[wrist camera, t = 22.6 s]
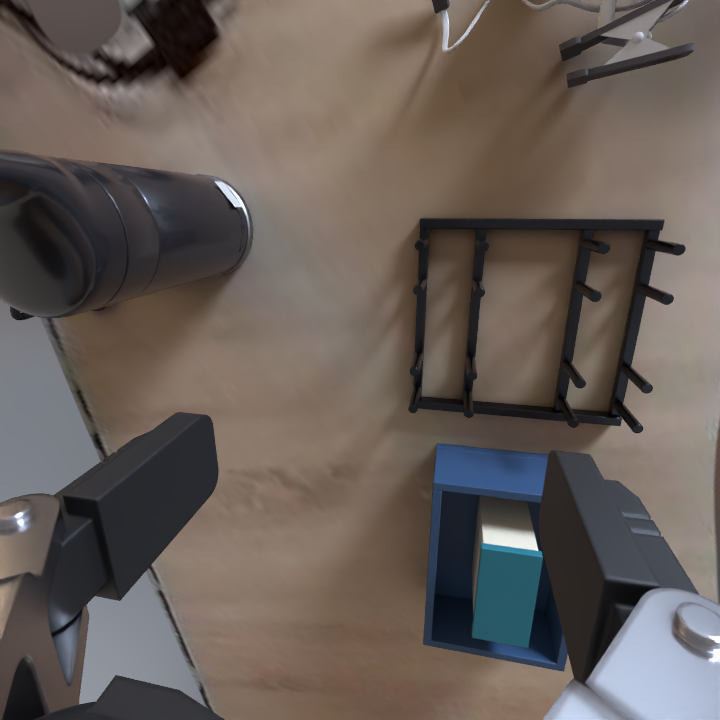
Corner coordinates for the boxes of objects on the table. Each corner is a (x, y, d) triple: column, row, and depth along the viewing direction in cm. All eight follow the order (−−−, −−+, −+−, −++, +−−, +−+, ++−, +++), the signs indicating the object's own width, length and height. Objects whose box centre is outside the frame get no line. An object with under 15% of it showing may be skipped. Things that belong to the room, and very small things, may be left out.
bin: (550, 610, 49) (564, 672, 43) (427, 590, 52) (423, 644, 45) (578, 457, 43) (600, 502, 36) (436, 443, 45) (433, 482, 39)
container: (469, 571, 49) (471, 638, 41) (477, 491, 45) (481, 548, 38) (517, 579, 48) (528, 648, 40) (528, 497, 44) (543, 556, 37)
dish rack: (413, 403, 45) (407, 428, 39) (421, 218, 39) (415, 219, 34) (616, 420, 41) (638, 450, 36) (658, 219, 35) (692, 221, 30)
